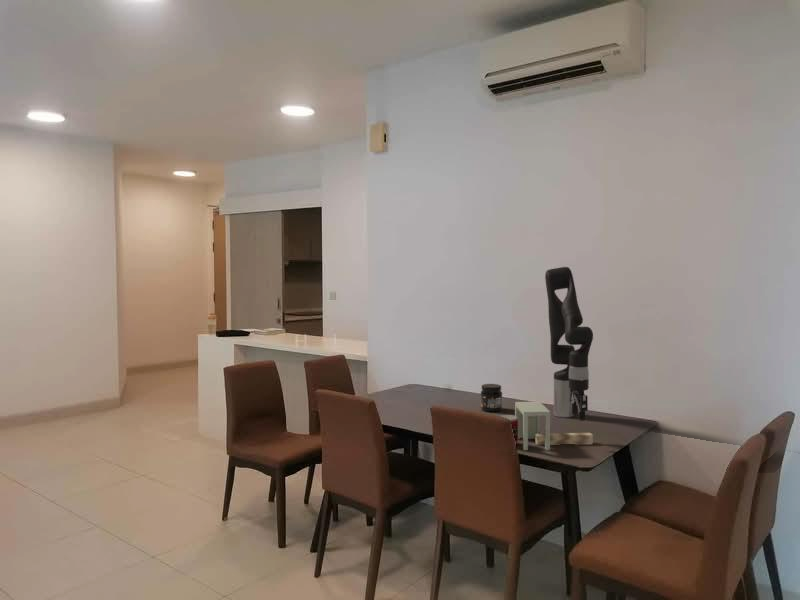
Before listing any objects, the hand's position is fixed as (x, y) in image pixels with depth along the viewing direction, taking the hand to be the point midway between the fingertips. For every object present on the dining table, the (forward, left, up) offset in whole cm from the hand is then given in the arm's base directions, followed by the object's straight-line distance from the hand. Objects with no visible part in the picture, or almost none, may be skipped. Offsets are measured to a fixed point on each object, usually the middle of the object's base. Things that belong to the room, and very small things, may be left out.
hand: (578, 417), depth 229 cm
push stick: (0, -6, -11) cm, 12 cm away
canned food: (0, -28, -11) cm, 30 cm away
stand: (0, -19, -10) cm, 21 cm away
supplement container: (-54, -26, -11) cm, 60 cm away
